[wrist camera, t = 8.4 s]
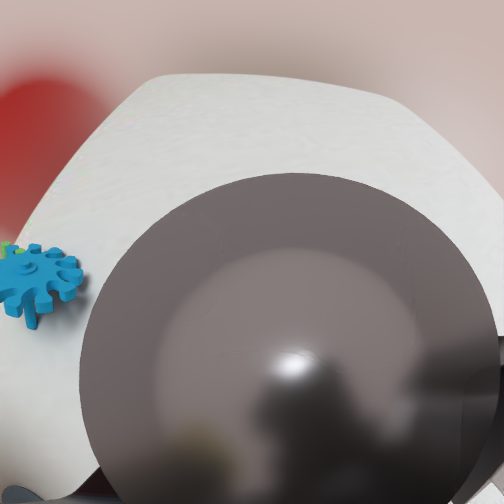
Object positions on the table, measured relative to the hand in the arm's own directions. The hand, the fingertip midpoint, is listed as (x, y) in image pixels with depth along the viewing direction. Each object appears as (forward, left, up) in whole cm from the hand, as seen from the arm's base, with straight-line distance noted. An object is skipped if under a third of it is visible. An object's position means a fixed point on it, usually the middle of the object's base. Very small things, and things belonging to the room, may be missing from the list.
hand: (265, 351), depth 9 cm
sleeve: (-1, 0, -7) cm, 7 cm away
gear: (+9, +17, -9) cm, 21 cm away
